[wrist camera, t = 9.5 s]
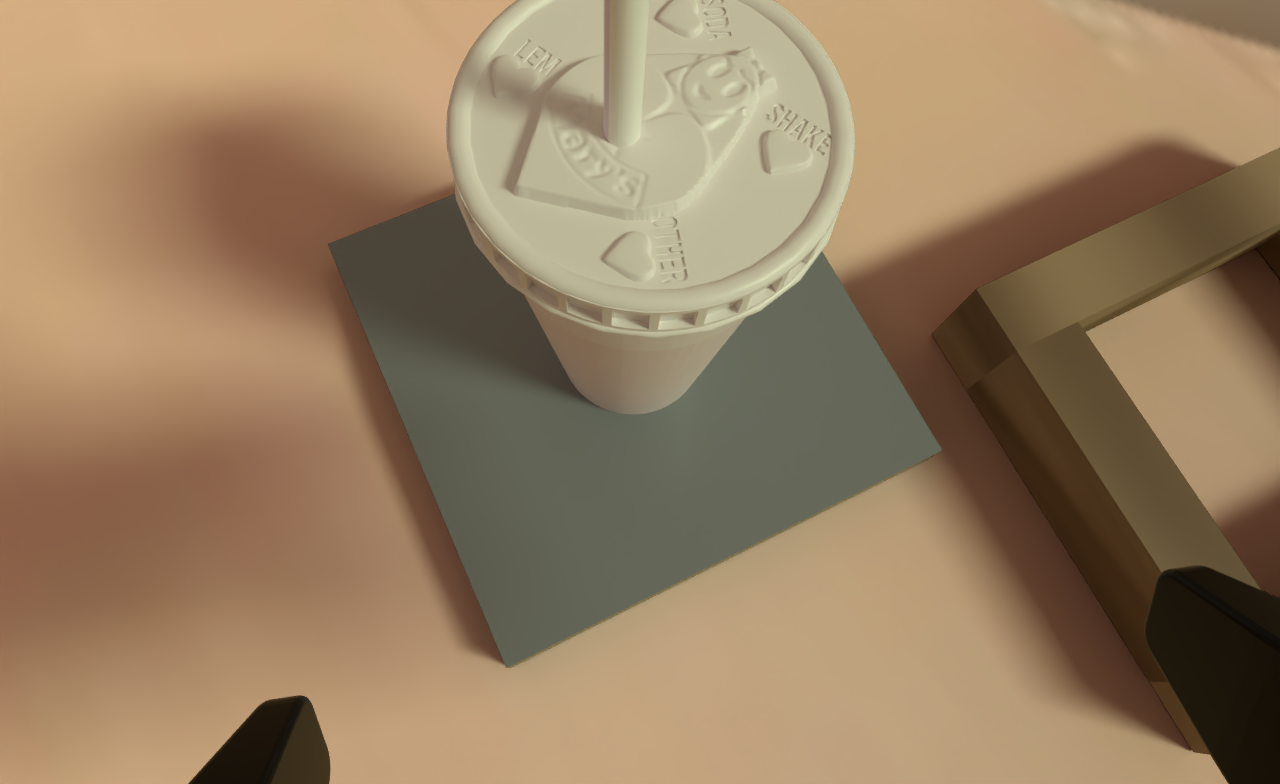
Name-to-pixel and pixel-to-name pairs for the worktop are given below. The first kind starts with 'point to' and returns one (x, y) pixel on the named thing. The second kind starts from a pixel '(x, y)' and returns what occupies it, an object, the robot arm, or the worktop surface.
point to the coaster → (613, 432)
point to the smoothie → (648, 176)
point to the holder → (1109, 393)
